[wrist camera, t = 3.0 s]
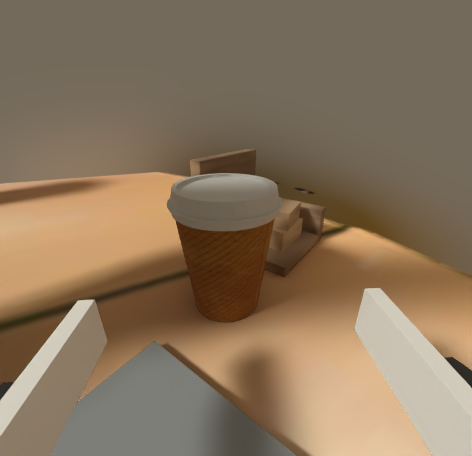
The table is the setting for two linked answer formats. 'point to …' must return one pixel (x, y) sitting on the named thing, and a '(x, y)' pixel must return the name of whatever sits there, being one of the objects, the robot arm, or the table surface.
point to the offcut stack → (286, 225)
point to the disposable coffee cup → (225, 238)
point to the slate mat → (161, 416)
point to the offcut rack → (310, 213)
